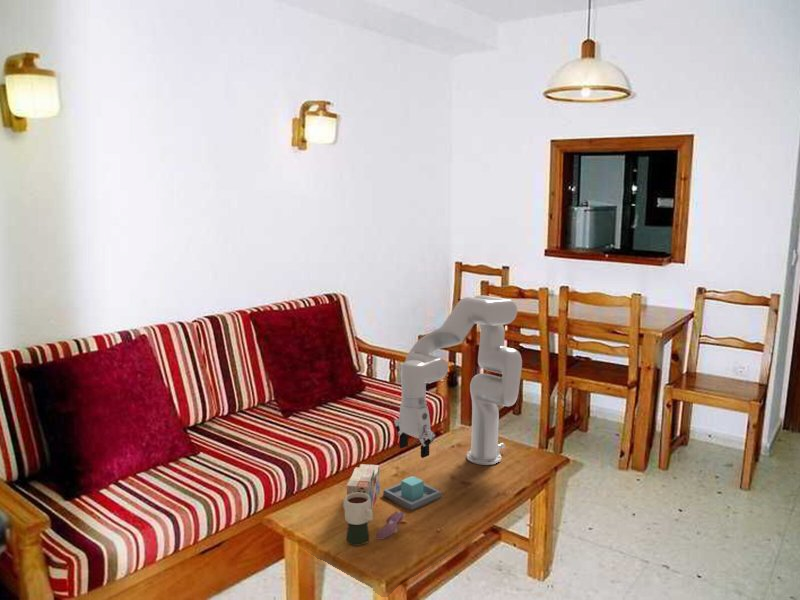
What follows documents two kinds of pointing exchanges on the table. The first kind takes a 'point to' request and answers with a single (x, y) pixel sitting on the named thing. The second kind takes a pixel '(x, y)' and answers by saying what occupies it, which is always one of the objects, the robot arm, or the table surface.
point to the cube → (412, 488)
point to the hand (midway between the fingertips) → (414, 451)
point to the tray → (395, 495)
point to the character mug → (357, 517)
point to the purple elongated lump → (390, 525)
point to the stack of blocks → (365, 482)
